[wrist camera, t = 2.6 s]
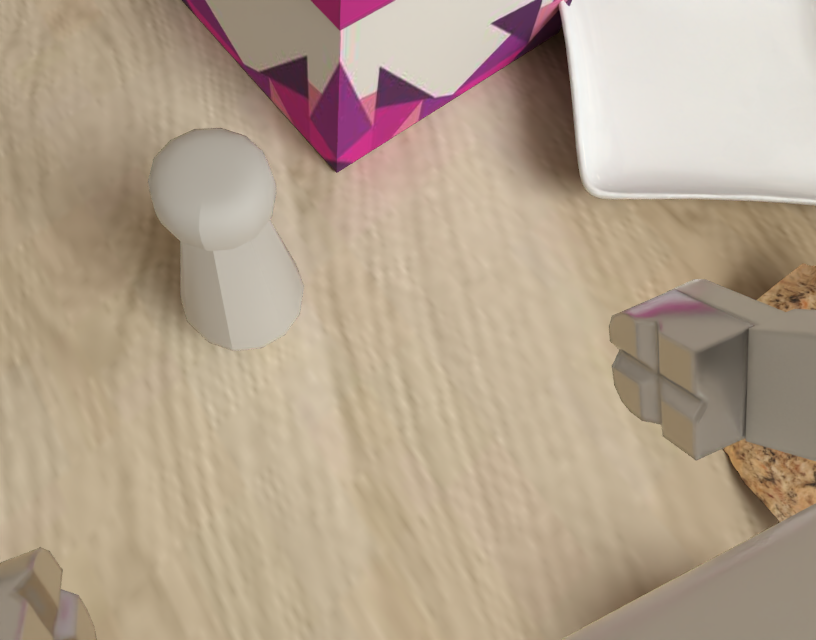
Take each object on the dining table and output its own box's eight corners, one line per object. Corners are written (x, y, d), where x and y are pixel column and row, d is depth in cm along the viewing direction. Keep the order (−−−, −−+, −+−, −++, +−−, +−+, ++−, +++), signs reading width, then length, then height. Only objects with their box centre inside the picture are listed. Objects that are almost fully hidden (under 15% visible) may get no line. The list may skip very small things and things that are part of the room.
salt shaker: (166, 309, 34) (79, 161, 22) (251, 240, 36) (214, 69, 24) (245, 387, 33) (198, 277, 21) (328, 312, 35) (329, 172, 23)
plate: (809, -22, 49) (843, -64, 45) (895, 237, 41) (943, 208, 38) (528, -44, 46) (542, -90, 43) (563, 227, 38) (585, 195, 35)
